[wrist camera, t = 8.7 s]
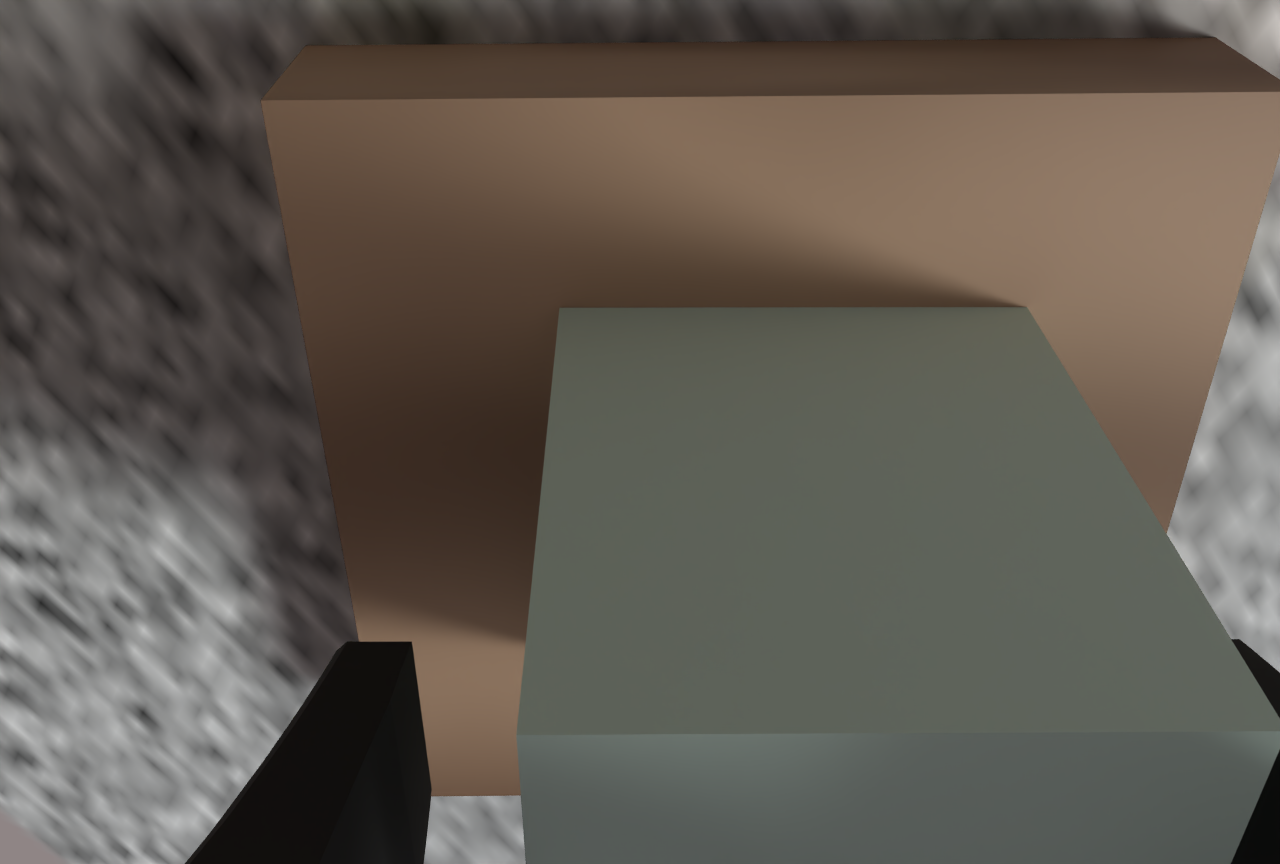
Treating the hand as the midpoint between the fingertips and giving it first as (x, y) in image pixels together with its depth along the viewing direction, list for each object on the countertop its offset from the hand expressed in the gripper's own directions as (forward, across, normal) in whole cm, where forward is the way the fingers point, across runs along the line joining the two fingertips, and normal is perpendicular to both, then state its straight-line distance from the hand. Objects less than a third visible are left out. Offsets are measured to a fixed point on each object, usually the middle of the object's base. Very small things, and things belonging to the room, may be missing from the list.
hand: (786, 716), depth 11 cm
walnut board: (+6, 0, 0) cm, 6 cm away
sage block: (+3, 0, 0) cm, 3 cm away
